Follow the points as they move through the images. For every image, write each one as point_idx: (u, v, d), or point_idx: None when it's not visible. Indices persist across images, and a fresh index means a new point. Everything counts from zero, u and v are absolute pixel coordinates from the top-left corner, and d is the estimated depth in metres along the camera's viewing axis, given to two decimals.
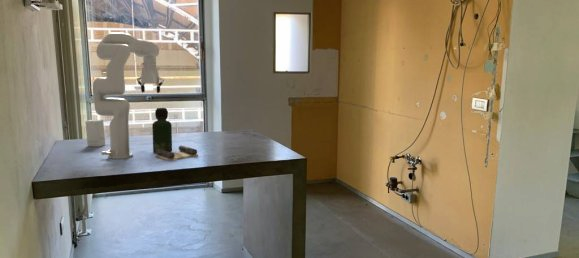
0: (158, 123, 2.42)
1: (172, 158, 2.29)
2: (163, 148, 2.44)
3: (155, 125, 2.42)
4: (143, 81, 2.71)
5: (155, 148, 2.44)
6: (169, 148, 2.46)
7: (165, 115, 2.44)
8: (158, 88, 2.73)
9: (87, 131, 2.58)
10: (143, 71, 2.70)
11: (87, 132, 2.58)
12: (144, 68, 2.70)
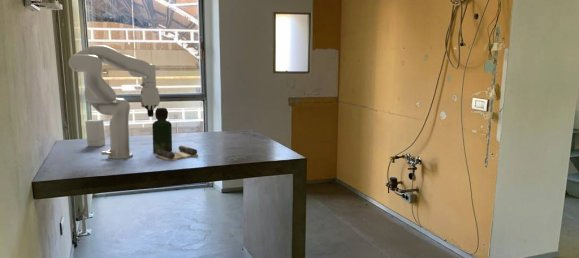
0: (158, 123, 2.42)
1: (172, 158, 2.29)
2: (163, 148, 2.44)
3: (155, 125, 2.42)
4: (147, 103, 2.50)
5: (155, 148, 2.44)
6: (169, 148, 2.46)
7: (165, 115, 2.44)
8: (152, 111, 2.55)
9: (87, 131, 2.58)
10: (146, 92, 2.49)
11: (87, 132, 2.58)
12: (147, 89, 2.49)
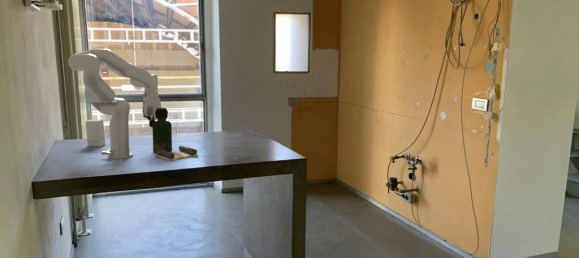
0: (158, 123, 2.42)
1: (172, 158, 2.29)
2: (163, 148, 2.44)
3: (155, 125, 2.42)
4: (149, 113, 2.49)
5: (155, 148, 2.44)
6: (169, 148, 2.46)
7: (165, 115, 2.44)
8: None
9: (87, 131, 2.58)
10: (148, 103, 2.48)
11: (87, 132, 2.58)
12: (149, 99, 2.48)
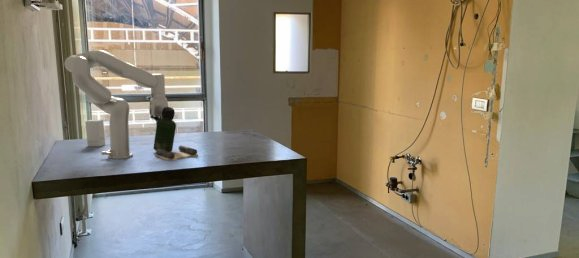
0: (163, 123, 2.39)
1: (172, 158, 2.29)
2: (164, 148, 2.43)
3: (160, 125, 2.39)
4: (156, 114, 2.44)
5: (156, 146, 2.43)
6: (170, 148, 2.46)
7: (171, 116, 2.40)
8: None
9: (87, 131, 2.58)
10: (155, 103, 2.43)
11: (87, 132, 2.58)
12: (156, 100, 2.43)
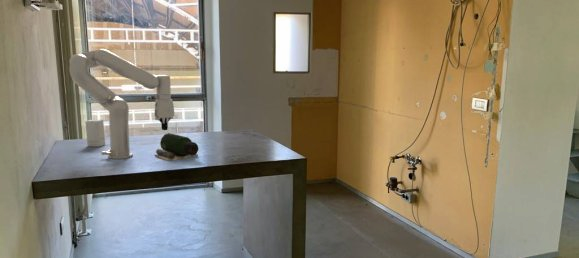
0: (179, 151, 2.31)
1: (172, 158, 2.29)
2: None
3: (176, 149, 2.31)
4: (161, 116, 2.39)
5: (162, 145, 2.39)
6: None
7: None
8: (167, 125, 2.45)
9: (87, 131, 2.58)
10: (161, 105, 2.39)
11: (87, 132, 2.58)
12: (162, 101, 2.39)
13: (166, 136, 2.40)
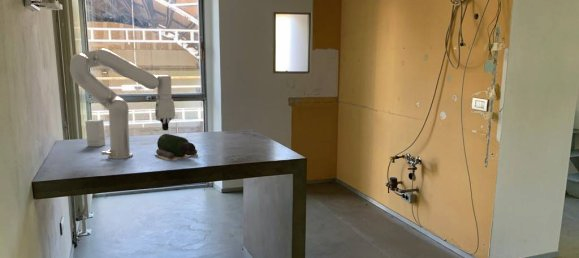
0: (178, 154, 2.31)
1: (172, 158, 2.29)
2: None
3: (174, 153, 2.30)
4: (162, 116, 2.39)
5: (160, 148, 2.39)
6: None
7: None
8: (167, 125, 2.44)
9: (87, 131, 2.58)
10: (162, 105, 2.38)
11: (87, 132, 2.58)
12: (162, 101, 2.38)
13: (161, 139, 2.38)
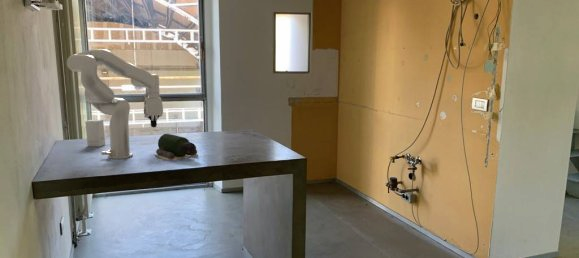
0: (178, 153, 2.31)
1: (172, 158, 2.29)
2: None
3: (175, 152, 2.30)
4: (150, 114, 2.48)
5: (161, 148, 2.39)
6: None
7: None
8: (156, 122, 2.53)
9: (87, 131, 2.58)
10: (150, 103, 2.47)
11: (87, 132, 2.58)
12: (150, 99, 2.47)
13: (162, 139, 2.38)
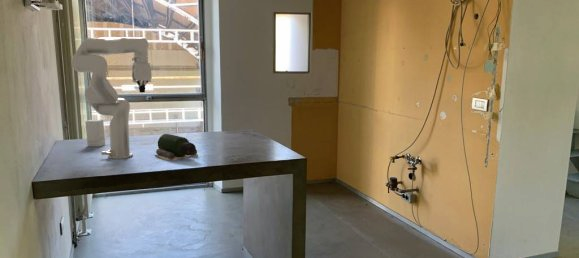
0: (178, 153, 2.31)
1: (172, 158, 2.29)
2: None
3: (174, 152, 2.30)
4: (138, 78, 2.47)
5: (160, 148, 2.39)
6: None
7: None
8: (144, 87, 2.52)
9: (87, 131, 2.58)
10: (138, 67, 2.46)
11: (87, 132, 2.58)
12: (139, 64, 2.46)
13: (162, 139, 2.38)
